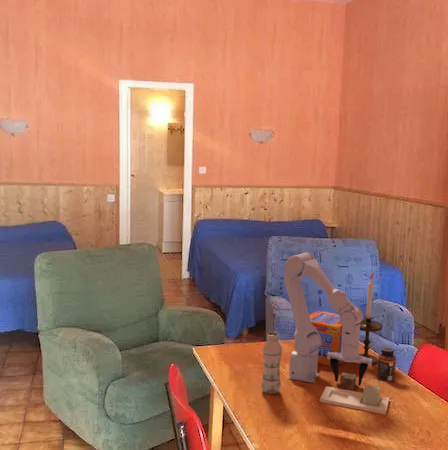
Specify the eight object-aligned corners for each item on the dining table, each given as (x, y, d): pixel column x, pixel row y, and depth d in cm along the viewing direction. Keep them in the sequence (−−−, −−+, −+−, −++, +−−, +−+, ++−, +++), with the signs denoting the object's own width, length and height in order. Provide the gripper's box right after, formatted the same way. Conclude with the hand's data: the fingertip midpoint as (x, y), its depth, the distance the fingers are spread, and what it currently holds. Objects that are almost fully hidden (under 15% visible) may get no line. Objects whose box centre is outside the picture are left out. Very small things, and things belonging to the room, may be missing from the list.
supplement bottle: (395, 384, 192) (397, 353, 191) (377, 382, 193) (379, 351, 192) (393, 377, 198) (395, 347, 196) (376, 375, 199) (378, 345, 198)
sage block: (362, 405, 172) (363, 390, 171) (364, 399, 176) (365, 384, 175) (377, 408, 170) (378, 393, 170) (379, 402, 174) (380, 387, 174)
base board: (319, 406, 174) (320, 398, 174) (326, 393, 183) (326, 386, 183) (385, 419, 167) (385, 411, 167) (388, 405, 176) (389, 397, 176)
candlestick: (379, 356, 218) (385, 269, 213) (381, 367, 207) (387, 275, 203) (351, 354, 220) (356, 267, 215) (351, 364, 209) (357, 273, 205)
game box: (315, 346, 227) (317, 310, 225) (352, 355, 218) (354, 317, 216) (298, 358, 214) (300, 319, 212) (336, 367, 206) (338, 327, 204)
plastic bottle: (283, 390, 185) (285, 332, 182) (276, 398, 179) (279, 338, 176) (265, 386, 188) (267, 329, 185) (257, 394, 182) (260, 335, 179)
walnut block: (339, 391, 186) (340, 377, 185) (341, 386, 190) (342, 372, 189) (353, 393, 184) (354, 379, 183) (355, 388, 188) (356, 374, 187)
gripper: (326, 343, 184) (324, 383, 185) (371, 350, 178) (368, 390, 180) (330, 337, 190) (328, 375, 192) (373, 343, 185) (371, 382, 186)
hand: (348, 382), depth 186 cm, fingers open, 7 cm apart
